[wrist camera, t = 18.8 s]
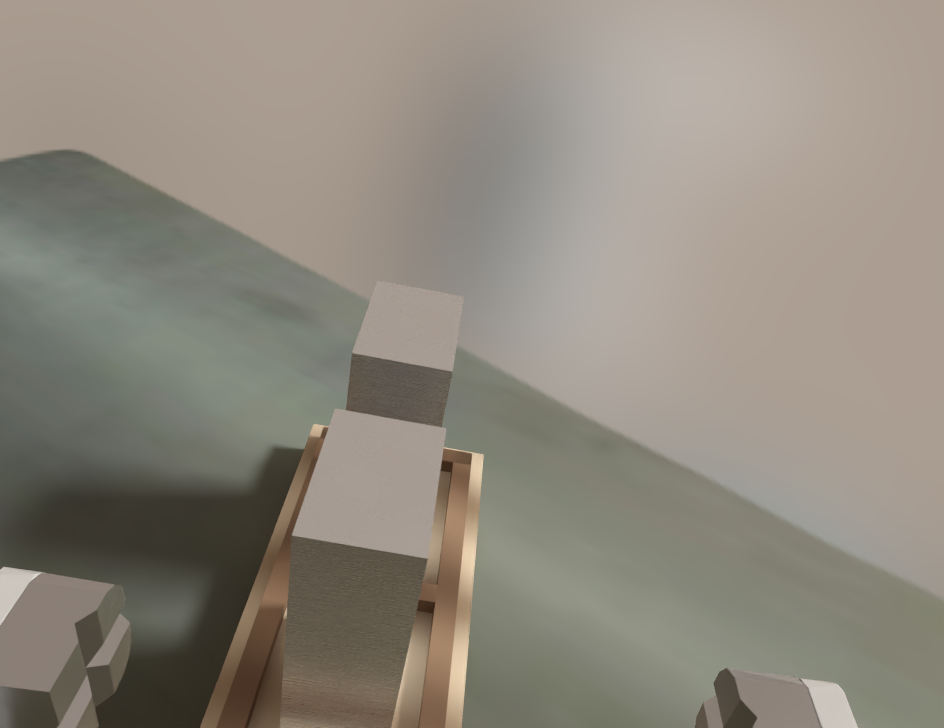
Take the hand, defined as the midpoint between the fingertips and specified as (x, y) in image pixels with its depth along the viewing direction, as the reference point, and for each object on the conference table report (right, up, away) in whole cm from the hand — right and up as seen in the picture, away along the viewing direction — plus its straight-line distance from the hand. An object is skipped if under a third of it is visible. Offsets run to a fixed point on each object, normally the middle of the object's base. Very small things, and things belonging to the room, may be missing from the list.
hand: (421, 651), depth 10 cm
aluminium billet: (-4, -9, +21) cm, 23 cm away
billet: (-4, -4, +29) cm, 29 cm away
